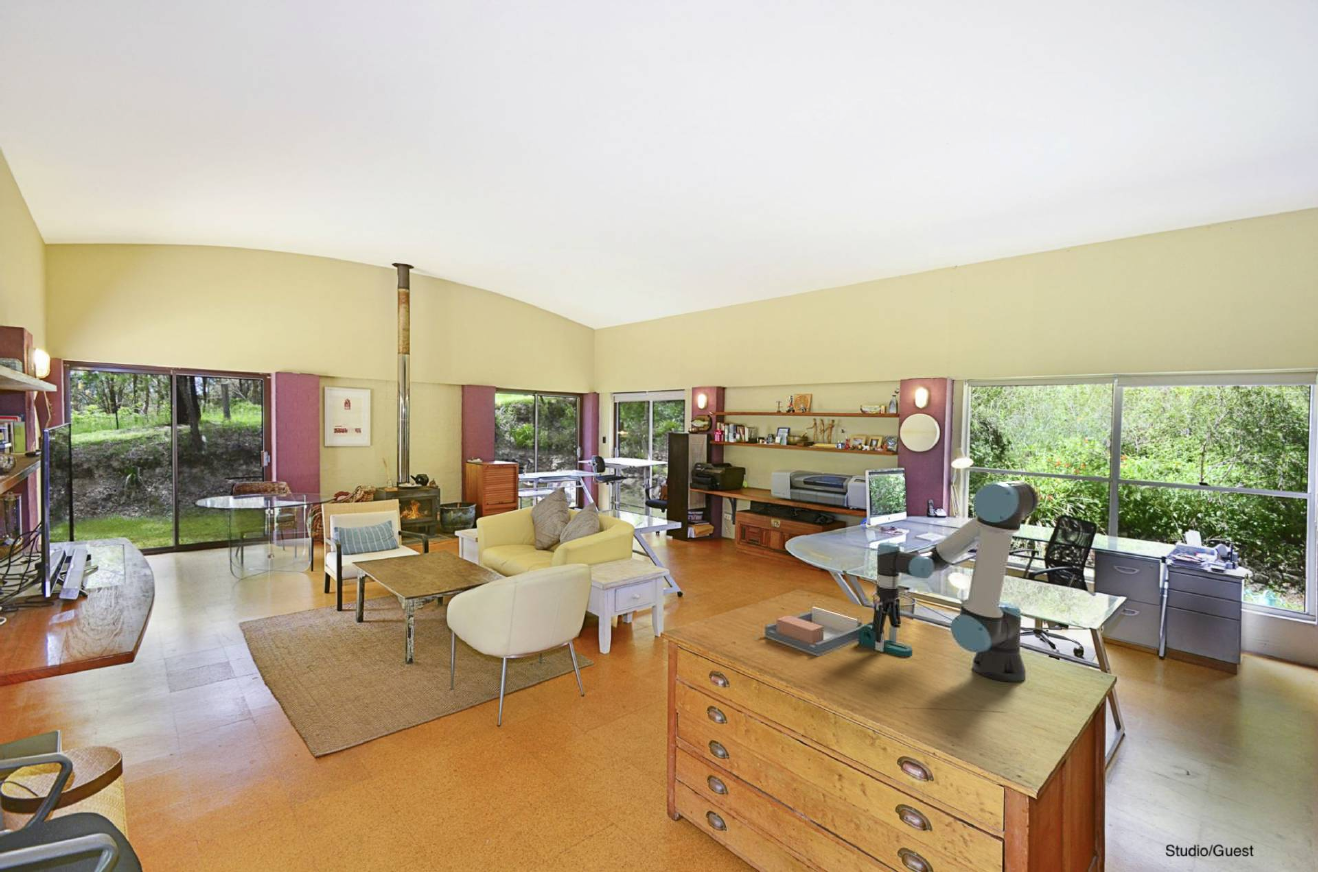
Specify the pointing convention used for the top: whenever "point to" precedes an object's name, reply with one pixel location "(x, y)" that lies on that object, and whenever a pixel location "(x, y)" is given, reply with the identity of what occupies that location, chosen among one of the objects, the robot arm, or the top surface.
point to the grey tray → (830, 642)
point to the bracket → (869, 640)
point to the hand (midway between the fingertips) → (886, 647)
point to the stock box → (800, 629)
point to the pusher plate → (833, 620)
